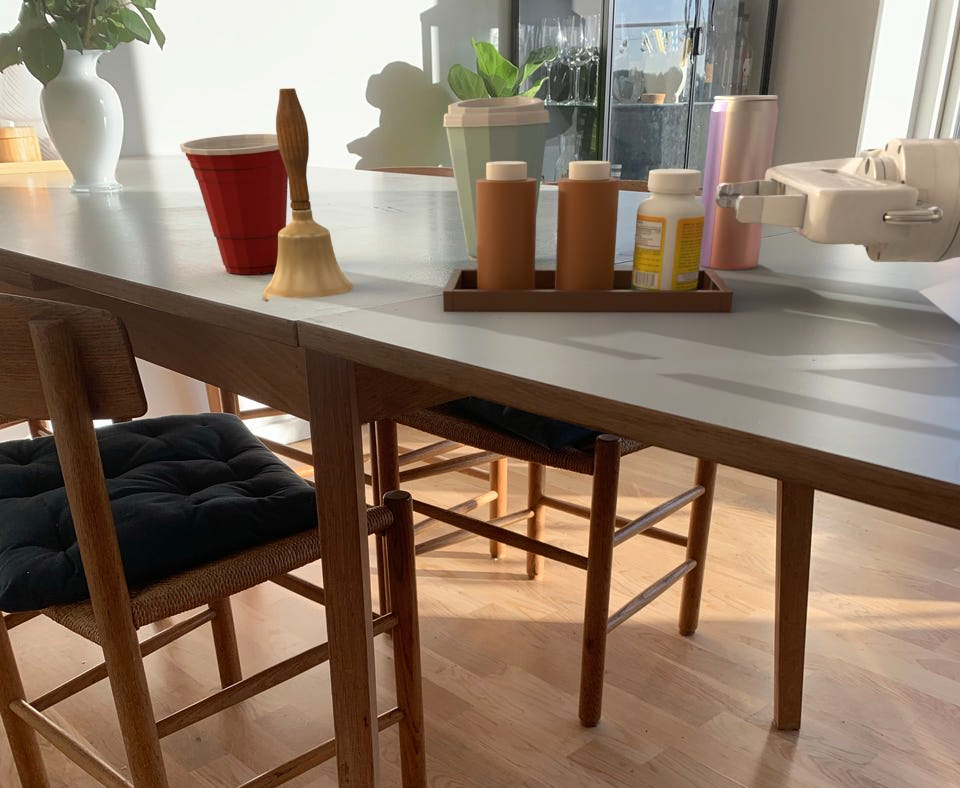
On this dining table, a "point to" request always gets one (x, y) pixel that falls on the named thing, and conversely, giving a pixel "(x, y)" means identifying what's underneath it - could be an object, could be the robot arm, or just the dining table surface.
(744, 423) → the dining table surface
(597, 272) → the amber bottle
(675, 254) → the supplement bottle
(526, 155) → the disposable coffee cup
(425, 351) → the dining table surface
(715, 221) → the beverage can
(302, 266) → the hand bell
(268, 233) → the plastic cup
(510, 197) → the far amber bottle
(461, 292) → the tray
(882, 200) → the robot arm
